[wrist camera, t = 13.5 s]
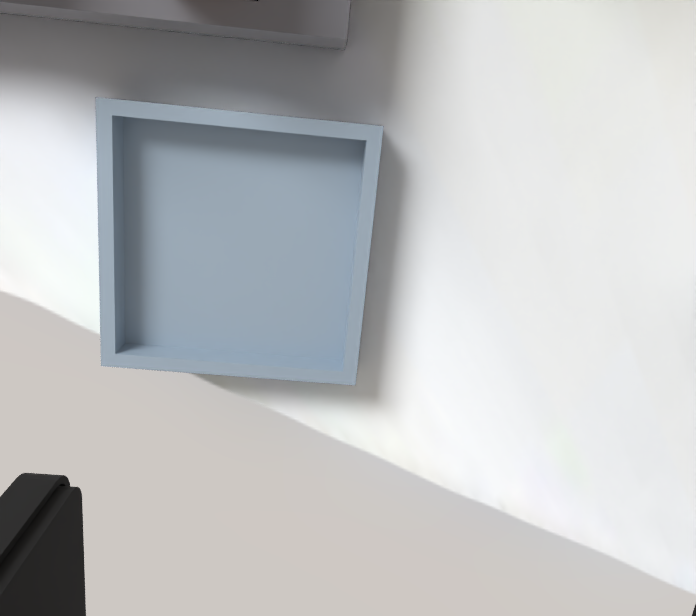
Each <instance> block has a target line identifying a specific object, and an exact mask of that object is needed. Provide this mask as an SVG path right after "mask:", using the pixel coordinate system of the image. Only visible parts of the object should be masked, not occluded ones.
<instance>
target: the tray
mask: <svg viewBox="0 0 696 616" xmlns="http://www.w3.org/2000/svg"><path fill="white" fill-rule="evenodd" d="M383 127H384V126H378V125H368V124H358V123H348V122H338V121H328V120H319V119H309V118H299V117H289V116H279V115H269V114H259V113H249V112H239V111H229V110H219V109H209V108H199V107H190V106H180V105H170V104H160V103H150V102H140V101H130V100H120V99H110V98H100V97H96V141H97V189H98V238H99V286H100V335H101V366H108V367H122V368H135V369H147V370H160V371H161V370H162V371H174V372H186V373H200V374H213V375H226V376H239V377H252V378H265V379H278V380H291V381H304V382H317V383H331V384H344V385H356V376H357V367H358V357H359V348H360V339H361V330H362V321H363V311H364V302H365V293H366V284H367V274H368V265H369V256H370V247H371V238H372V228H373V219H374V210H375V201H376V192H377V182H378V173H379V164H380V155H381V146H382V136H383Z"/></svg>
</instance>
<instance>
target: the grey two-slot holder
mask: <svg viewBox="0 0 696 616" xmlns="http://www.w3.org/2000/svg"><path fill="white" fill-rule="evenodd" d="M350 3H351V0H259V1H252V0H0V13H7V14H16V15H25V16H35V17H44V18H53V19H62V20H72V21H81V22H90V23H100V24H109V25H118V26H127V27H137V28H146V29H155V30H165V31H174V32H183V33H193V34H202V35H211V36H220V37H230V38H239V39H248V40H258V41H267V42H276V43H286V44H295V45H304V46H313V47H323V48H332V49H341V50H345V47H346V43H347V36H348V25H349V14H350Z"/></svg>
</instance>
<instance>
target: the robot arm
mask: <svg viewBox="0 0 696 616" xmlns="http://www.w3.org/2000/svg"><path fill="white" fill-rule="evenodd" d="M82 516H83V514H82V494H81V490H80V488H78V487H70V483H69V480H68V478H67V477H66V476H64V475H48V474H34V473H24V474H21V475H20V476H18V477H17V478H16V479H15V481H14V482H13V483H12V484H11V485H10V486H9V487H8V489H7V490H6V491H5V492H4V493H3V495H2V496H1V497H0V616H86V609H85V578H84V546H83V517H82ZM692 616H696V605H695V608H694V611H693V614H692Z"/></svg>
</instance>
